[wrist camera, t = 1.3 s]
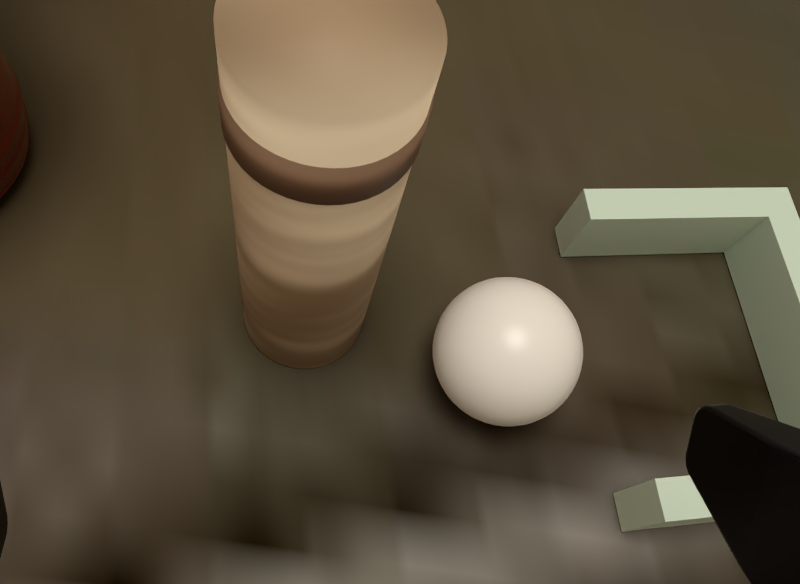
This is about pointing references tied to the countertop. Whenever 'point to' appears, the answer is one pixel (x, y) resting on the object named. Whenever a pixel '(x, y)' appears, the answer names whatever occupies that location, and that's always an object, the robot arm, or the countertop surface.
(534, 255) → the countertop surface
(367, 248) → the player peg
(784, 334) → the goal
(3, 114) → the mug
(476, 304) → the ball
